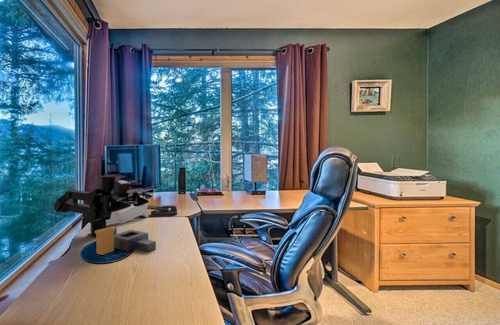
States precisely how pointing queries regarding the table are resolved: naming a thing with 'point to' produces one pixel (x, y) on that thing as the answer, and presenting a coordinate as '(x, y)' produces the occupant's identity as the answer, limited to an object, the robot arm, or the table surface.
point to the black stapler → (163, 210)
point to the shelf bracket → (127, 214)
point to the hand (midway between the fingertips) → (139, 203)
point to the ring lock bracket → (133, 240)
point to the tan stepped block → (105, 240)
